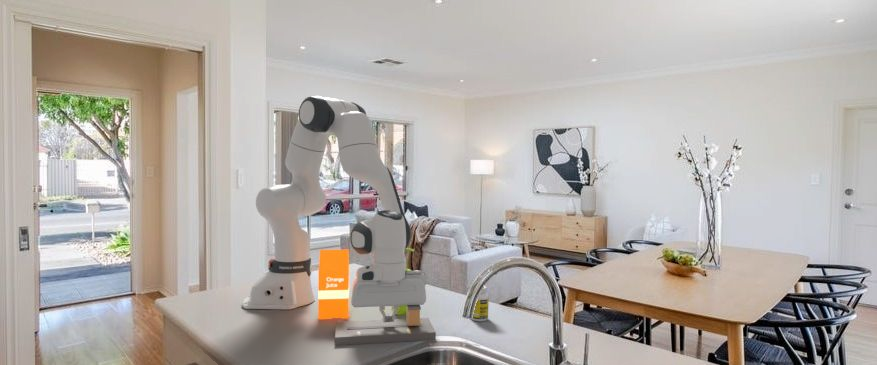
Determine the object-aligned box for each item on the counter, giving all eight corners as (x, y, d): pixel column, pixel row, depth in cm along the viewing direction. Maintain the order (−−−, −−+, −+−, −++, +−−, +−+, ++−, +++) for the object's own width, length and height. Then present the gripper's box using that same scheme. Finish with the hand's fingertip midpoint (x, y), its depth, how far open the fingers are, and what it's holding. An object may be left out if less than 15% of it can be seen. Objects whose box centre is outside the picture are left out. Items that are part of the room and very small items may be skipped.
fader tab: (407, 327, 129) (408, 307, 129) (405, 321, 134) (405, 302, 134) (420, 327, 130) (420, 307, 130) (417, 320, 135) (417, 301, 135)
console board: (334, 345, 123) (335, 336, 122) (336, 329, 134) (336, 321, 134) (435, 339, 127) (435, 331, 127) (428, 324, 139) (428, 317, 139)
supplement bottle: (480, 323, 141) (481, 290, 141) (466, 318, 145) (466, 286, 144) (491, 318, 145) (492, 286, 145) (477, 314, 149) (478, 283, 148)
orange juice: (348, 318, 144) (348, 251, 143) (317, 319, 142) (318, 252, 142) (349, 310, 151) (349, 247, 151) (320, 311, 150) (320, 247, 149)
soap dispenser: (410, 315, 147) (411, 250, 146) (389, 313, 149) (389, 249, 148) (415, 309, 153) (416, 247, 152) (394, 308, 154) (395, 246, 153)
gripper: (425, 267, 136) (424, 316, 136) (351, 269, 132) (350, 319, 132) (429, 272, 129) (428, 323, 130) (351, 274, 126) (351, 327, 126)
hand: (388, 321), depth 131 cm, fingers closed
